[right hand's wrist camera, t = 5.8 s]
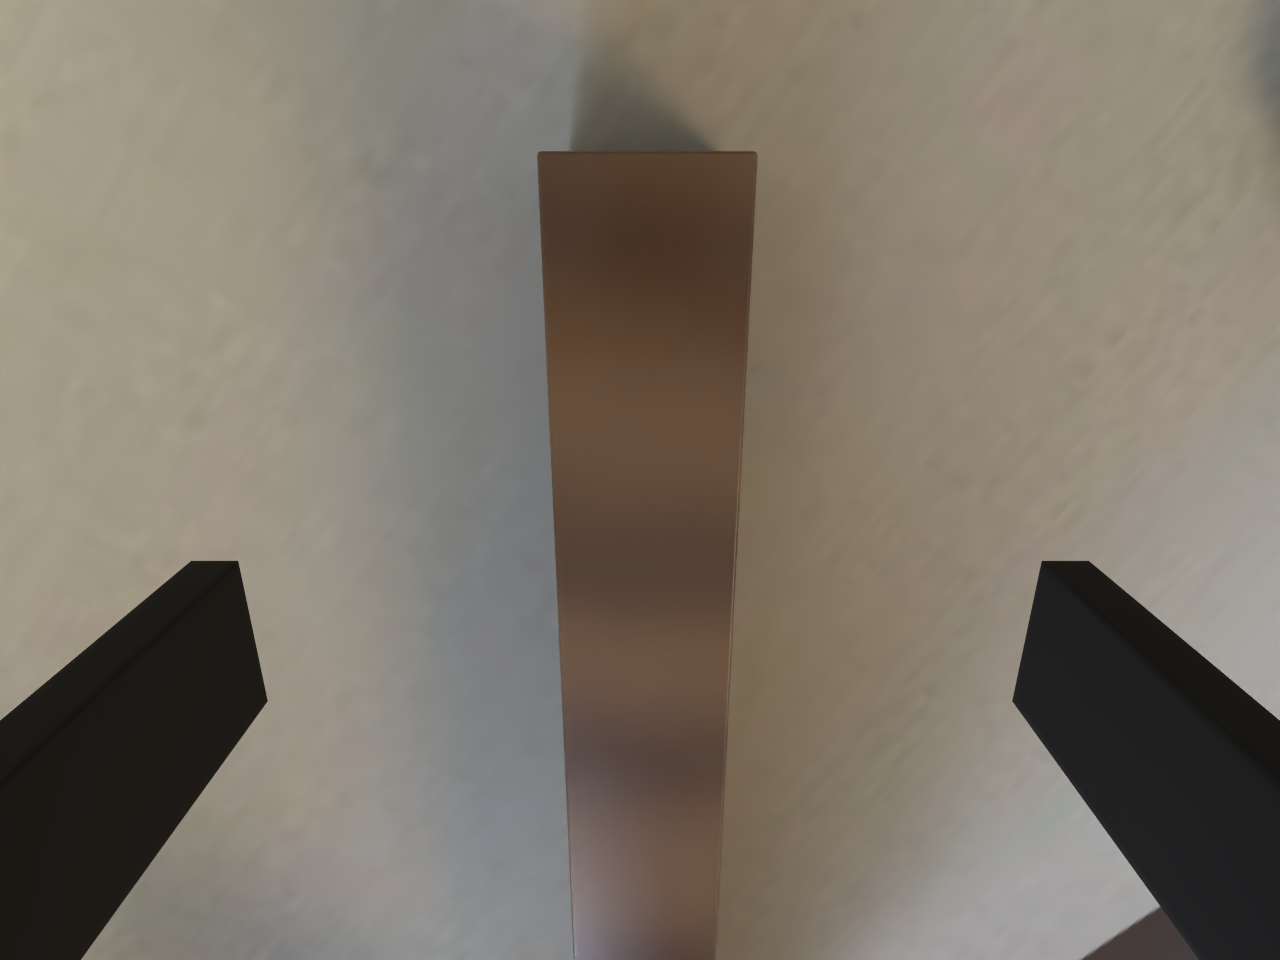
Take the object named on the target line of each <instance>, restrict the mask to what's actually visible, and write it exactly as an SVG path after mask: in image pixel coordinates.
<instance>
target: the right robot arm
mask: <svg viewBox="0 0 1280 960" xmlns="http://www.w3.org/2000/svg"><path fill="white" fill-rule="evenodd" d="M266 703H267V696H266V691H265V686H264V682H263V677H262V672H261V667H260V663H259V658H258V653H257V648H256V644H255V639H254V634H253V629H252V625H251V620H250V615H249V610H248V606H247V601H246V596H245V591H244V587H243V582H242V577H241V572H240V568H239V563H238V561H191V562H189V563H188V564H187V565H186V566H185V567H183V568H182V569H181V570H180V571H179V572H178V573H176V574H175V575H174V576H173V577H172V578H170V579H169V580H168V581H167V582H166V583H164V584H163V585H162V586H161V587H160V588H158V589H157V590H156V591H155V592H154V593H152V594H151V595H150V596H149V597H148V598H146V599H145V600H144V601H143V602H142V603H140V604H139V605H138V606H137V607H136V608H134V609H133V610H132V611H131V612H130V613H128V614H127V615H126V616H125V617H124V618H122V619H121V620H120V621H119V622H118V623H117V624H115V625H114V626H113V627H112V628H111V629H109V630H108V631H107V632H106V633H105V634H103V635H102V636H101V637H100V638H99V639H97V640H96V641H95V642H94V643H93V644H91V645H90V646H89V647H88V648H87V649H85V650H84V651H83V652H82V653H81V654H79V655H78V656H77V657H76V658H75V659H73V660H72V661H71V662H70V663H69V664H67V665H66V666H65V667H64V668H63V669H61V670H60V671H59V672H58V673H57V674H55V675H54V676H53V677H52V678H51V679H50V680H48V681H47V682H46V683H45V684H44V685H42V686H41V687H40V688H39V689H38V690H36V691H35V692H34V693H33V694H32V695H30V696H29V697H28V698H27V699H26V700H24V701H23V702H22V703H21V704H20V705H18V706H17V707H16V708H15V709H14V710H12V711H11V712H10V713H9V714H8V715H6V716H5V717H4V718H3V719H2V720H0V960H81V959H82V957H83V956H84V954H85V953H86V952H87V950H88V949H89V948H90V946H91V945H92V943H93V942H94V941H95V939H96V938H97V936H98V935H99V934H100V932H101V931H102V930H103V928H104V927H105V925H106V924H107V923H108V921H109V920H110V918H111V917H112V916H113V914H114V913H115V912H116V910H117V909H118V907H119V906H120V905H121V903H122V902H123V901H124V899H125V898H126V896H127V895H128V894H129V892H130V891H131V889H132V888H133V887H134V885H135V884H136V883H137V881H138V880H139V878H140V877H141V876H142V874H143V873H144V871H145V870H146V869H147V867H148V866H149V865H150V863H151V862H152V860H153V859H154V858H155V856H156V855H157V853H158V852H159V851H160V849H161V848H162V847H163V845H164V844H165V842H166V841H167V840H168V838H169V837H170V835H171V834H172V833H173V831H174V830H175V829H176V827H177V826H178V824H179V823H180V822H181V820H182V819H183V817H184V816H185V815H186V813H187V812H188V811H189V809H190V808H191V806H192V805H193V804H194V802H195V801H196V800H197V798H198V797H199V795H200V794H201V793H202V791H203V790H204V788H205V787H206V786H207V784H208V783H209V782H210V780H211V779H212V777H213V776H214V775H215V773H216V772H217V770H218V769H219V768H220V766H221V765H222V764H223V762H224V761H225V759H226V758H227V757H228V755H229V754H230V752H231V751H232V750H233V748H234V747H235V746H236V744H237V743H238V741H239V740H240V739H241V737H242V736H243V734H244V733H245V732H246V730H247V729H248V728H249V726H250V725H251V723H252V722H253V721H254V719H255V718H256V716H257V715H258V714H259V712H260V711H261V710H262V708H263V707H264V705H265V704H266ZM1013 703H1014V704H1015V705H1016V707H1017V708H1018V710H1019V711H1020V712H1021V714H1022V715H1023V716H1024V718H1025V719H1026V721H1027V722H1028V723H1029V725H1030V726H1031V728H1032V729H1033V730H1034V732H1035V733H1036V734H1037V736H1038V737H1039V739H1040V740H1041V741H1042V743H1043V744H1044V746H1045V747H1046V748H1047V750H1048V751H1049V752H1050V754H1051V755H1052V757H1053V758H1054V759H1055V761H1056V762H1057V764H1058V765H1059V766H1060V768H1061V769H1062V770H1063V772H1064V773H1065V775H1066V776H1067V777H1068V779H1069V780H1070V782H1071V783H1072V784H1073V786H1074V787H1075V788H1076V790H1077V791H1078V793H1079V794H1080V795H1081V797H1082V798H1083V800H1084V801H1085V802H1086V804H1087V805H1088V806H1089V808H1090V809H1091V811H1092V812H1093V813H1094V815H1095V816H1096V817H1097V819H1098V820H1099V822H1100V823H1101V824H1102V826H1103V827H1104V829H1105V830H1106V831H1107V833H1108V834H1109V835H1110V837H1111V838H1112V840H1113V841H1114V842H1115V844H1116V845H1117V847H1118V848H1119V849H1120V851H1121V852H1122V853H1123V855H1124V856H1125V858H1126V859H1127V860H1128V862H1129V863H1130V865H1131V866H1132V867H1133V869H1134V870H1135V871H1136V873H1137V874H1138V876H1139V877H1140V878H1141V880H1142V881H1143V883H1144V884H1145V885H1146V887H1147V888H1148V889H1149V891H1150V892H1151V894H1152V895H1153V896H1154V898H1155V899H1156V901H1157V902H1158V903H1159V905H1160V906H1161V907H1162V909H1163V910H1164V912H1165V913H1166V914H1167V916H1168V917H1169V918H1170V920H1171V921H1172V923H1173V924H1174V925H1175V927H1176V928H1177V929H1178V931H1179V932H1180V934H1181V935H1182V936H1183V938H1184V939H1185V941H1186V942H1187V943H1188V945H1189V946H1190V948H1191V949H1192V950H1193V952H1194V953H1195V954H1196V956H1197V957H1198V958H1199V960H1280V720H1278V719H1277V718H1276V717H1275V716H1274V715H1272V714H1271V713H1270V712H1269V711H1268V710H1266V709H1265V708H1264V707H1263V706H1262V705H1260V704H1259V703H1258V702H1257V701H1256V700H1254V699H1253V698H1252V697H1251V696H1250V695H1248V694H1247V693H1246V692H1245V691H1244V690H1242V689H1241V688H1240V687H1239V686H1238V685H1236V684H1235V683H1234V682H1233V681H1232V680H1230V679H1229V678H1228V677H1227V676H1226V675H1225V674H1223V673H1222V672H1221V671H1220V670H1219V669H1217V668H1216V667H1215V666H1214V665H1213V664H1211V663H1210V662H1209V661H1208V660H1207V659H1205V658H1204V657H1203V656H1202V655H1201V654H1199V653H1198V652H1197V651H1196V650H1195V649H1193V648H1192V647H1191V646H1190V645H1189V644H1187V643H1186V642H1185V641H1184V640H1183V639H1181V638H1180V637H1179V636H1178V635H1177V634H1175V633H1174V632H1173V631H1172V630H1171V629H1169V628H1168V627H1167V626H1166V625H1165V624H1163V623H1162V622H1161V621H1160V620H1159V619H1158V618H1156V617H1155V616H1154V615H1153V614H1152V613H1150V612H1149V611H1148V610H1147V609H1146V608H1144V607H1143V606H1142V605H1141V604H1140V603H1138V602H1137V601H1136V600H1135V599H1134V598H1132V597H1131V596H1130V595H1129V594H1128V593H1126V592H1125V591H1124V590H1123V589H1122V588H1120V587H1119V586H1118V585H1117V584H1116V583H1114V582H1113V581H1112V580H1111V579H1110V578H1108V577H1107V576H1106V575H1105V574H1104V573H1102V572H1101V571H1100V570H1099V569H1098V568H1097V567H1095V566H1094V565H1093V564H1092V563H1091V562H1089V561H1042V563H1041V568H1040V572H1039V577H1038V582H1037V587H1036V591H1035V596H1034V601H1033V606H1032V610H1031V615H1030V620H1029V625H1028V629H1027V634H1026V639H1025V644H1024V648H1023V653H1022V658H1021V663H1020V667H1019V672H1018V677H1017V682H1016V686H1015V691H1014V696H1013Z"/></svg>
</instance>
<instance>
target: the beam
mask: <svg viewBox="0 0 1280 960" xmlns="http://www.w3.org/2000/svg"><path fill="white" fill-rule="evenodd" d="M757 157H758V155H757V153H756V152H754V151H541V152H538V155H537V161H538V183H539V205H540V227H541V249H542V271H543V293H544V315H545V336H546V358H547V380H548V402H549V424H550V446H551V468H552V490H553V511H554V533H555V555H556V577H557V599H558V621H559V643H560V665H561V686H562V708H563V730H564V752H565V774H566V796H567V818H568V840H569V861H570V883H571V905H572V927H573V949H574V960H715V959H716V940H717V921H718V902H719V883H720V864H721V844H722V825H723V806H724V787H725V768H726V749H727V730H728V711H729V692H730V673H731V653H732V634H733V615H734V596H735V577H736V558H737V539H738V520H739V501H740V481H741V462H742V443H743V424H744V405H745V386H746V367H747V348H748V329H749V310H750V290H751V271H752V252H753V233H754V214H755V195H756V176H757Z"/></svg>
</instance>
